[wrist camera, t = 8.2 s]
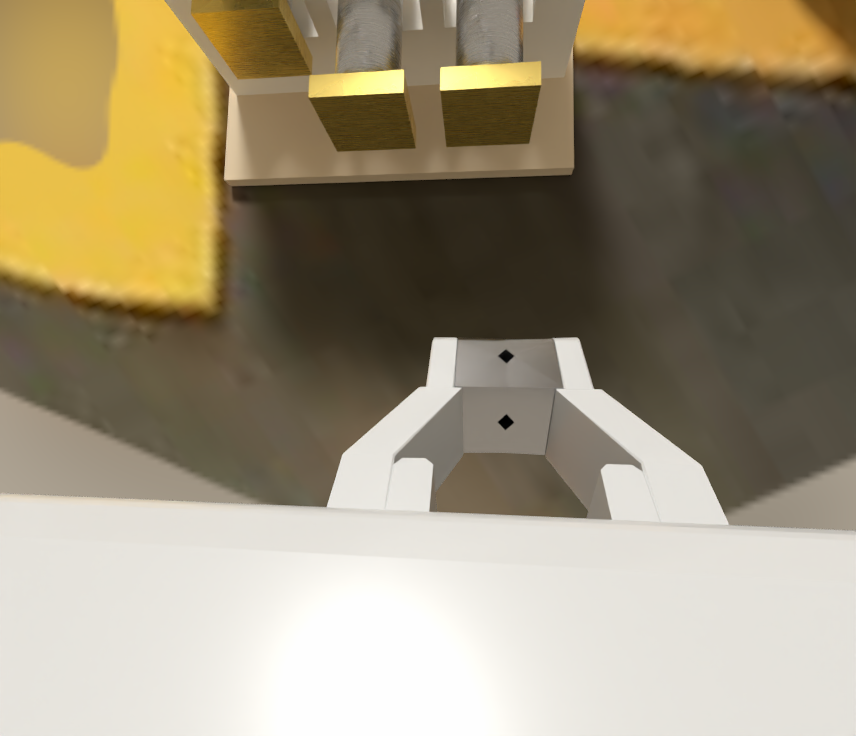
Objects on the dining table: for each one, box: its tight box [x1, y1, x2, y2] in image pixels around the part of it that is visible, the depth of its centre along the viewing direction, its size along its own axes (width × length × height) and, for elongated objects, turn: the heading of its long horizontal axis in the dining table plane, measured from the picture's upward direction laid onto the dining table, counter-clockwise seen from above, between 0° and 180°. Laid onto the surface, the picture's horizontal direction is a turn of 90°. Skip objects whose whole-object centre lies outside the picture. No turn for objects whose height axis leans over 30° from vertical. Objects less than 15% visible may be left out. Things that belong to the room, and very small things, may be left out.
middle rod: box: [308, 0, 416, 152], centre depth 21 cm, size 10×4×4 cm, turn 178°
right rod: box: [440, 0, 541, 147], centre depth 21 cm, size 10×4×4 cm, turn 178°
